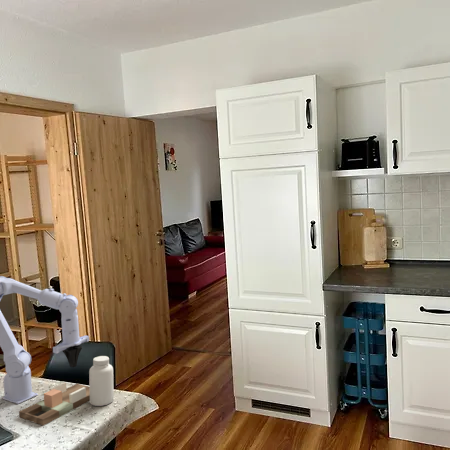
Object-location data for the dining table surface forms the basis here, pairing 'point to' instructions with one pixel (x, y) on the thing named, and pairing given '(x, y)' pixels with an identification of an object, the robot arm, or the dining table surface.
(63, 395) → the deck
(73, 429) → the dining table surface
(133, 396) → the dining table surface
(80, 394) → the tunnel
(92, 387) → the pill bottle
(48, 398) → the block
